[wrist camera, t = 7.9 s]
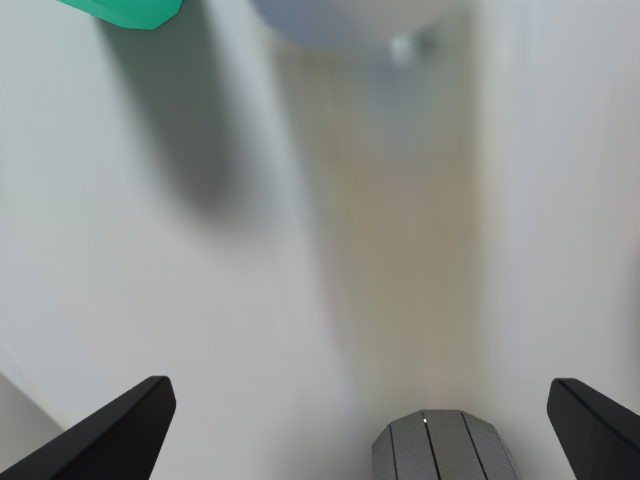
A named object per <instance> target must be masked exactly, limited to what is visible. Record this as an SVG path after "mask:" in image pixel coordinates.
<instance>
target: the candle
mask: <svg viewBox="0 0 640 480" xmlns="http://www.w3.org/2000/svg"><path fill="white" fill-rule="evenodd" d="M57 1H60V2H62V3H65V4H67V5H69V6H72V7H74V8H77V9H79V10H82V11H84V12H86V13H89V14H91V15H94V16H96V17H99V18H101V19H103V20H106V21H108V22H111V23H113V24H115V25H118V26H120V27H123V28H128V29H150V30H154V29H156V28H157V27H158V26H160V25H161V24H163V23H164V22H166V21H167V20H168V19H170V18H171V17H173V16H174V15H176V14H177V13H178V11H179V9H180V6H181V4H182V1H183V0H57Z"/></svg>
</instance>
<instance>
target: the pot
mask: <svg viewBox="0 0 640 480" xmlns="http://www.w3.org/2000/svg"><path fill="white" fill-rule="evenodd" d="M372 472H373V480H523V479H522V476H521V474H520V472H519V470H518V468H517V466H516V464H515V462H514V460H513V458H512V456H511V454H510V452H509V450H508V448H507V446H506V445H505V443H504V442H503V440H502V439H501V437H500V435H499V434H498V432H497V431H496V429H495V428H494V426H492V425H491V424H489V423H487V422H485V421H482V420H480V419H478V418H476V417H474V416H472V415H469V414H467V413H465V412H463V411H462V412H460V411H459V410H424V411H423V412H422V411H418V412H416V413H413V414H411V415H408V416H406V417H403V418H401V419H398V420H396V421H394V422H391V425H390V424H388V426H387V427H386V428H385V429H384V431H383V432H382V433H381V434H380V436H379V437H378V438H377V440H376V441H375V442H374V443H373V445H372Z"/></svg>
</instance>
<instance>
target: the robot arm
mask: <svg viewBox="0 0 640 480" xmlns="http://www.w3.org/2000/svg"><path fill="white" fill-rule="evenodd" d="M175 409H176V399H175V395H174V391H173V388H172V384H171V381H170V378H169V377H168V376H150V377H149V378H147V379H145V380H144V381H142V382H141V383H139V384H138V385H136V386H135V387H133V388H132V389H130V390H128V391H127V392H125V393H124V394H122V395H121V396H119V397H118V398H116V399H115V400H113V401H111V402H110V403H108V404H107V405H105V406H104V407H102V408H101V409H99V410H98V411H96V412H94V413H93V414H91V415H90V416H88V417H87V418H85V419H84V420H82V421H81V422H79V423H77V424H76V425H74V426H73V427H71V428H70V429H68V430H67V431H65V432H64V433H62V434H61V435H59V436H57V437H56V438H54V439H53V440H51V441H50V442H48V443H47V444H45V445H44V446H42V447H41V448H39V449H38V450H36V451H34V452H33V453H31V454H30V455H28V456H27V457H25V458H24V459H22V460H20V461H19V462H17V463H16V464H14V465H13V466H11V467H10V468H8V469H6V470H5V471H3V472H2V473H0V480H149V478H150V475H151V473H152V470H153V468H154V466H155V463H156V460H157V458H158V455H159V452H160V450H161V447H162V444H163V442H164V439H165V437H166V434H167V431H168V429H169V426H170V423H171V421H172V418H173V415H174V413H175ZM547 413H548V417H549V419H550V422H551V424H552V426H553V428H554V430H555V433H556V435H557V437H558V439H559V441H560V444H561V446H562V448H563V450H564V452H565V455H566V457H567V459H568V461H569V463H570V466H571V468H572V470H573V472H574V474H575V477H576V479H577V480H640V416H639V415H637V414H635V413H634V412H632V411H630V410H629V409H627V408H625V407H624V406H622V405H620V404H618V403H617V402H615V401H613V400H612V399H610V398H608V397H607V396H605V395H603V394H601V393H600V392H598V391H596V390H595V389H593V388H591V387H590V386H588V385H586V384H584V383H583V382H581V381H579V380H577V379H575V378H555V379H554V380H553V381H552V383H551V388H550V392H549V397H548V402H547Z"/></svg>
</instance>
